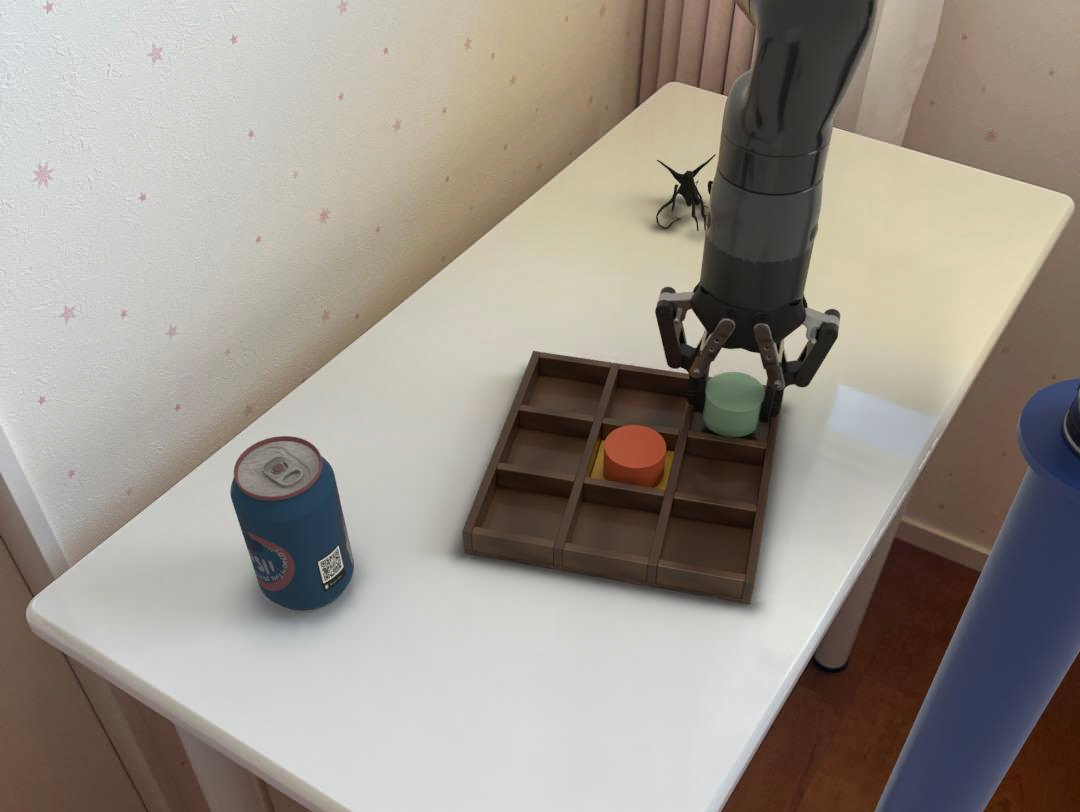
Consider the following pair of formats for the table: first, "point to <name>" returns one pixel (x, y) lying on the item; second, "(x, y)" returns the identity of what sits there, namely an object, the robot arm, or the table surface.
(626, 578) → the grid
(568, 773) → the table surface
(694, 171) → the creature
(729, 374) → the sage token
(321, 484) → the soda can
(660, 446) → the cylinder
